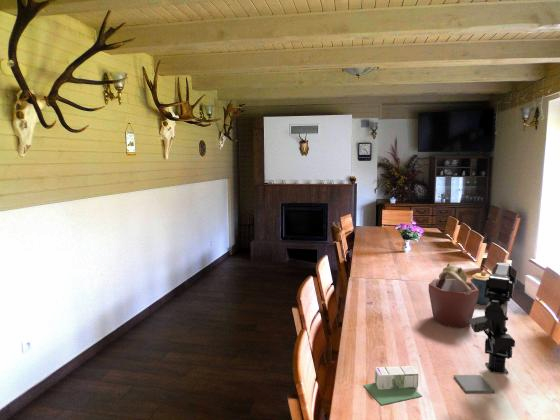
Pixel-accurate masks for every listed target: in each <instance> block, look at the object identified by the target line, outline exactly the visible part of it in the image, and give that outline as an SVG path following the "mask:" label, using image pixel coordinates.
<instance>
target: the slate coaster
mask: <svg viewBox="0 0 560 420" xmlns="http://www.w3.org/2000/svg"><path fill="white" fill-rule="evenodd" d="M453 378H454V380H456V382H457V383H458V385H459V386H460V387H461V389H463V391H464V393H466V394H468V393H471V394H473V393H474V394H475V393H476V394H477V393H478V394H479V393H482V394H483V393H484V394H486V393H489V394H490V393H493V394H494V393H495V389H494V388H493V387H492V386H491V385H490V384H489V383H488V381H487V380H485V378H484V377H483V376H482V375H481V374H453Z"/></svg>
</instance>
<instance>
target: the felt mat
mask: <svg viewBox="0 0 560 420" xmlns="http://www.w3.org/2000/svg"><path fill="white" fill-rule="evenodd" d="M363 387H364V388H365V389H366V391H368V392H369V394H371V396H372V397H373V398H374V399H375V400H376V401H377V402H378V404H379V405H380V406H385V405H391V404H394V403H398V402H403V401H407V400H412V399H417V398H420V397H422V395H423V394H421V393H420V392H418V391H417V390H416V388H404V389H382V390H380V389H378V387H377V385H376V383H375V382H373V383H368V384H364V385H363Z"/></svg>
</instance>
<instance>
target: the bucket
mask: <svg viewBox="0 0 560 420" xmlns="http://www.w3.org/2000/svg"><path fill="white" fill-rule="evenodd" d="M442 272H443V271H442ZM442 272H441V273H442ZM441 273H440V274H441ZM448 274H451V275H452V276H453V277H454V278H455V279H446V276H447V275H448ZM428 295H429V302H430V308H431V313H432V317H433V318H432V319H433V321H435V322H437V323H438V324H440V325H441V326H442V327H450V328H455V329H456V328H457V329H461V328H465V327H468V326H471V325H470V322H469V319H472V318H474V313H475V309H476V306H477V304H478V303H477V299H478V296H479V290H478V288H477V287H476V286H475V285H474V284H473V283H471V282H469V281H466V282H465V281H463V280H462V279H461V278H460V277H459V276H458V275H457V274H456V273H455V272H453V271H451V272H443V273H442V274H441V276H440V279H439V278H434V279H433V280H432V281H431V282H429V283H428Z"/></svg>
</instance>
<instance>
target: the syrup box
mask: <svg viewBox="0 0 560 420" xmlns="http://www.w3.org/2000/svg"><path fill="white" fill-rule="evenodd" d="M374 383H376V385H377V387H378V389H380V390H382V389H404V388H414V389H417V388H418V387H419V372H418V371H417V369H416V368H415V366H414V365H405V366H402V365H401V366H377V367H374Z"/></svg>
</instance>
